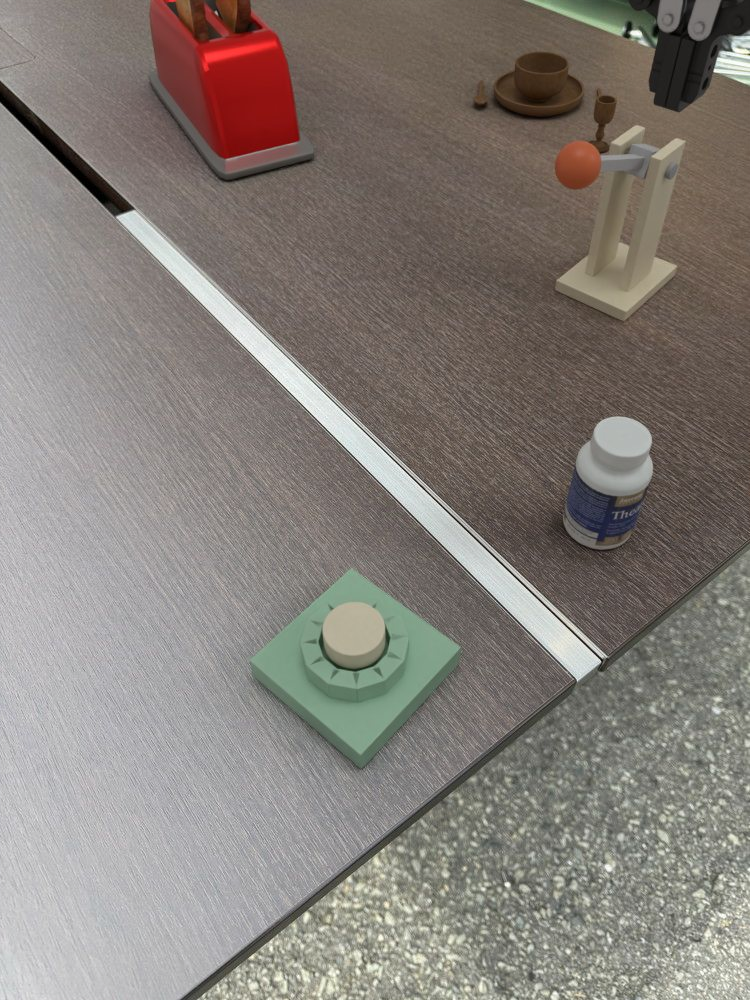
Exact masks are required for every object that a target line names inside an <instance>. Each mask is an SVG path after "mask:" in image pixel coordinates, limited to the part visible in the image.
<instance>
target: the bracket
mask: <svg viewBox="0 0 750 1000" xmlns="http://www.w3.org/2000/svg"><path fill="white" fill-rule="evenodd" d="M645 131H646V127H644V126H641V125H638V124H635V125H634V126H633V127H631V128H629V129H628V130H627V131H625V132H624V133H622V134H620V136H618V137H617V138H615V139H614V140H612V141H611V142H610V145H609V150H608V155H623V154H629V151H630V148H631V145H632V144H643V141H644V136H645ZM686 142H687V141H686V140H683V139H681V138H678V137H675V138H674V139H673V140H671V141H670V142H668V143H667V144H666V145H664V146H663V147H662V148H660V149H661V150H659V151H658V152H657V153H655V154H654V155H653V156H651V159H650V163H649V167H648V172H647V176H646V179H644V185H643V188H642V192H641V197H640V201H639V205H638V210H637V214H636V218H635V221H634V226H633V230H632V234H631V238H630V241H629V245H628V244H625V243H623V242H620V240H621V236H622V231H623V228H624V223H625V219H626V215H627V210H628V206H629V201H630V197H631V192H632V189H633V183H634V179H635V176H634V175H631V174H628V173H625V172H623V171H611V172H604V175H603V181H602V185H601V191H600V196H599V199H598V204H597V210H596V215H595V219H594V225H593V230H592V235H591V241H590V245H589V248H588V249H589V250H588V254H587V255H586V256H585V257H583V258H582V259H580V261H578V262H577V263H575V265H573V266H572V267H570V269H569V270H567V271H566V272H565V273H564V274H562V275H561V276H560V277H558V278H557V279H556V280H555V288H554V291H556V292H558V293H561V294H562V295H565V296H567V297H568V298H571V299H574V300H575V301H577V302H579V303H581V304H584V305H585V306H586V305H587V306H588V307H591V308H593V309H595V310H597V311H600V312H602V313H604V314H606V315H608V316H611V317H613V318H615V319H617V320H619V321H621V322H624V323H625V322H626V320H628V319H629V318H630V317H631V316H632V315H633V314H635V312H636V311H637V310H639V309H640V308H641V307H642V306H643V305H644V304H645V303H646V302H647V301H649V300H650V299H651V298H652V297H653V296H654V295H655V294H656V293H657V292H658V291H659V290H661V289H662V288H663V287H664V286H665V285H666V284H667V283H669V282H670V281H671V280H672V279H673V278H674V277H675V276H676V272H677V270H678V265H676V264H674V263H672V262H669V261H666V260H664V259H662V258H659V257H657V256H656V253H657V249H658V246H659V242H660V239H661V235H662V231H663V228H664V224H665V220H666V216H667V212H668V209H669V206H670V202H671V198H672V194H673V190H674V187H675V183H676V180H677V175H678V172H679V168H680V166H681V165H680V164H681V161H682V157H683V154H684V150H685V146H686Z"/></svg>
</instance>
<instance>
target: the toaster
mask: <svg viewBox="0 0 750 1000" xmlns="http://www.w3.org/2000/svg"><path fill="white" fill-rule="evenodd" d="M148 12H149V13H148V15H149V25H150V35H151V42H152V47H153V54H154V55H153V56H154V61H155V67H156V70H153V71H150V72H149V74H148V76H147V78H148V81H149V83H150V85H151V87H152V89H153V91H154V92H155V93H156V96H158V98H159V99H160V100H161V102H162V103H163V105H164V106H165V107H166V109H167V111H168V112H169V113H170V114H171V116H172V117H173V118H174V120H175V121H176V122H177V124H178V125H179V126H180V127H181V129H182V130H183V132H184V133H185V134H186V136H187V138H189V140H190V141H191V143H192V144H193V146H194V147H195V148H196V149H197V151H198V152H199V154H200V155H201V156H202V158H203V159H204V161H205V162H206V163H207V164H208V166H209V167H210V168H211V170H212V171H213V172H214V173H215V174H216V175H217V176H218V177H219V178H220V179H223V180H226V181H230V180H231V181H232V180H236V179H239V178H244V177H248V176H251V175H255V174H260V173H263V172H267V171H271V170H275V169H279V168H284V167H286V166H291V165H295V164H300V163H302V162H306V161H310V160H313V159H314V158H315V146H314V145H313V143H312V142H311V141H310V139H309V138H308V137H307V136H306V135H305V134H304V133H303V131H302V130H301V129H300V127H299V126H300V125H299V118H298V113H297V107H296V101H295V100H296V99H295V94H294V88H293V83H292V78H291V77H292V76H291V72H290V67H289V61H288V59H287V56H286V53H285V50H284V48H283V45H282V42H281V40H280V37H279V36H278V34H277V33H276V31H275V30H274V29H273V28H271V27H270V25H268V23H266V22H265V21H264V20H263V19H262V18H261V17H260V16H259V15H258V14H257V13H256V12H255V11H254V10H252V4H251V0H150V2H149V11H148Z"/></svg>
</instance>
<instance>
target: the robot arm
mask: <svg viewBox="0 0 750 1000" xmlns="http://www.w3.org/2000/svg"><path fill="white" fill-rule="evenodd" d="M628 3H629V5H630V7H631V8H632V9H633V10H634V11H636V12H641V11H645V12H646V13H648V14H649V15H651V16H652V17H653V18H654V19H655V20H656V23H657V26H658V36H657V40H656V44H655V50H654V55H653V59H652V62H651V63H652V64H651V67H650V68H651V69H650V71H649V76H648V89H649V92H651V93H654V96H653V105H654V106H657V107H660V108H663V109H666V110H668V111H669V110H670V111H672V112H675V113H679V114H680V113H681V112H683V111H684V110H685V109H687V108H688V107H689V106H691V105H692V104H693V103H694V102H696V101H697V100H699V99H700V98H702V97H703V96H704V94H705V93H706V92H707V90H708V89H709V88H710V86H711V82H712V78H713V74H714V71H715V66H716V65H717V60H718V57H719V54H720V50H721V45H722V42H723V39H724V36H728V35H732V36H736V37H739V36H742V35H744V34H745V33H747V32H748V31H749V30H750V0H628Z"/></svg>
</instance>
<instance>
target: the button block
mask: <svg viewBox="0 0 750 1000" xmlns="http://www.w3.org/2000/svg"><path fill="white" fill-rule="evenodd" d="M348 602H361V603H365V604H368V605H370V606H372V607H373V608H375V609H376V610H377V611H378V612H379V613H380V614H381V616H382V618H383V620H384V623H385V648H384V651H383V653H382V654H381V656H380V657H379V658H378V659H377V660H376V661H375V662H374V663H372V664H371V665H369V666H366V667H364V668H359V669H349V668H344V667H341V666H339V665H337V664H336V663H334V662H333V661H332V660H331V659H330V658H329V657H328V655H327V653H326V651H325V648H324V641H323V632H322V627H323V623H324V620H325V618H326V616H327V615H328V614H329V613H330V612H331V611H332V610H333V609H334V608H336V607H337V606H339V605H341V604H344V603H348ZM461 651H462V646H460V645H458V643H456V642H454V641H453V640H452V639H450V638H449V637H448V636H446V635H445V634H444V633H442V632H441V631H440V630H438V629H436V628H435V627H434V626H432V625H431V624H430V623H428V622H427V621H426V620H424V619H423V618H422V617H420V616H419V615H417V614H416V613H414V611H412V610H410V609H409V608H408V607H407V606H404V605H403V604H402V603H401V602H400V601H398V600H396V599H395V598H394V597H392V596H391V594H388V593H387V592H386V591H384V590H383V589H381V588H380V587H379V586H377V585H376V584H374V583H373V582H372V581H371V580H369V579H368V578H367V577H365V576H363V575H362V574H360V573H359V572H358V571H356V570H355V569H354V568H352V567H350V568H349V569H348V570H347V571H346V572H344V574H343V575H342V576H341V577H339V578H338V579H337V580H336V581H335V582H334V583H333V584H332V585H330V586H329V587H328V588H327V589H326V590H325V591H324V592H323V593H322V594H321V595H319V596H318V597H317V598H316V599H315V600H314V601H313V602H312V603H311V604H310V605H308V606H307V607H306V608H305V609H303V611H302V612H301V613H299V614H298V615H297V616H296V617H295V618H294V619H293V620H291V621H290V623H288V624H287V625H286V626H285V627H284V628H283V629H282V630H281V631H280V632H278V633H277V634H276V635H275V636H274V637H273V638H272V639H270V641H268V642H267V643H266V644H265V645H264V646H263V647H262V648H261V649H260V650H259V651H258V652H256V653H255V654H254V655H253V656H252V657H251V658H250V659H249V660H248V662H249V665H250V668H251V669H250V670H251V673H252V676H253V678H255V679H256V680H257V681H258V682H259V683H260V684H262V685H263V686H264V687H265V688H266V689H267V690H268V691H270V692H271V694H273V695H274V696H275V697H276V698H277V699H279V700H280V701H281V702H282V703H284V704H285V705H286V706H287V707H288V708H289V709H291V710H292V711H293V712H294V713H295V714H296V715H297V716H299V717H300V718H301V719H302V720H303V721H304V722H306V723H307V724H308V725H309V726H310V727H311V728H313V729H314V730H315V731H316V732H317V733H318V734H320V735H321V736H322V737H323V738H324V739H325V740H326V741H328V742H329V743H330V744H331V745H332V746H334V747H335V748H336V749H337V750H338V751H339V752H341V754H343V755H344V756H345V757H346V758H347V759H349V760H350V761H351V762H352V763H353V764H355V765H356V766H357V767H358V768H359V769H361V770H363V769H364V768H365V767H366V765H367V764H369V762H370V761H371V760H372V759H373V758H374V757H375V756H376V755H377V754H378V753H379V751H380V750H381V749H382V748H383V747H384V746H385V745H386V744H387V742H389V741H390V739H391V738H392V737H393V736H394V735H395V734H396V733H397V732H398V731H399V729H401V728H402V727H403V726H404V725H405V724H406V722H408V720H409V719H410V718H411V717H412V716H413V714H414V713H415V712H416V711H417V710H418V709H419V708H420V707H421V706H422V705H423V704H424V703H425V702H426V700H428V698H430V696H431V695H432V694H433V693H434V692H435V691H436V690H437V689H438V687H440V685H441V684H442V683H443V682H444V681H445V680H446V679H447V678H448V677H449V676H450V675H451V673H453V671H454V670H455V669H456V668H457V667H458V666H459V665H460V659H461V654H462V653H461Z"/></svg>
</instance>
